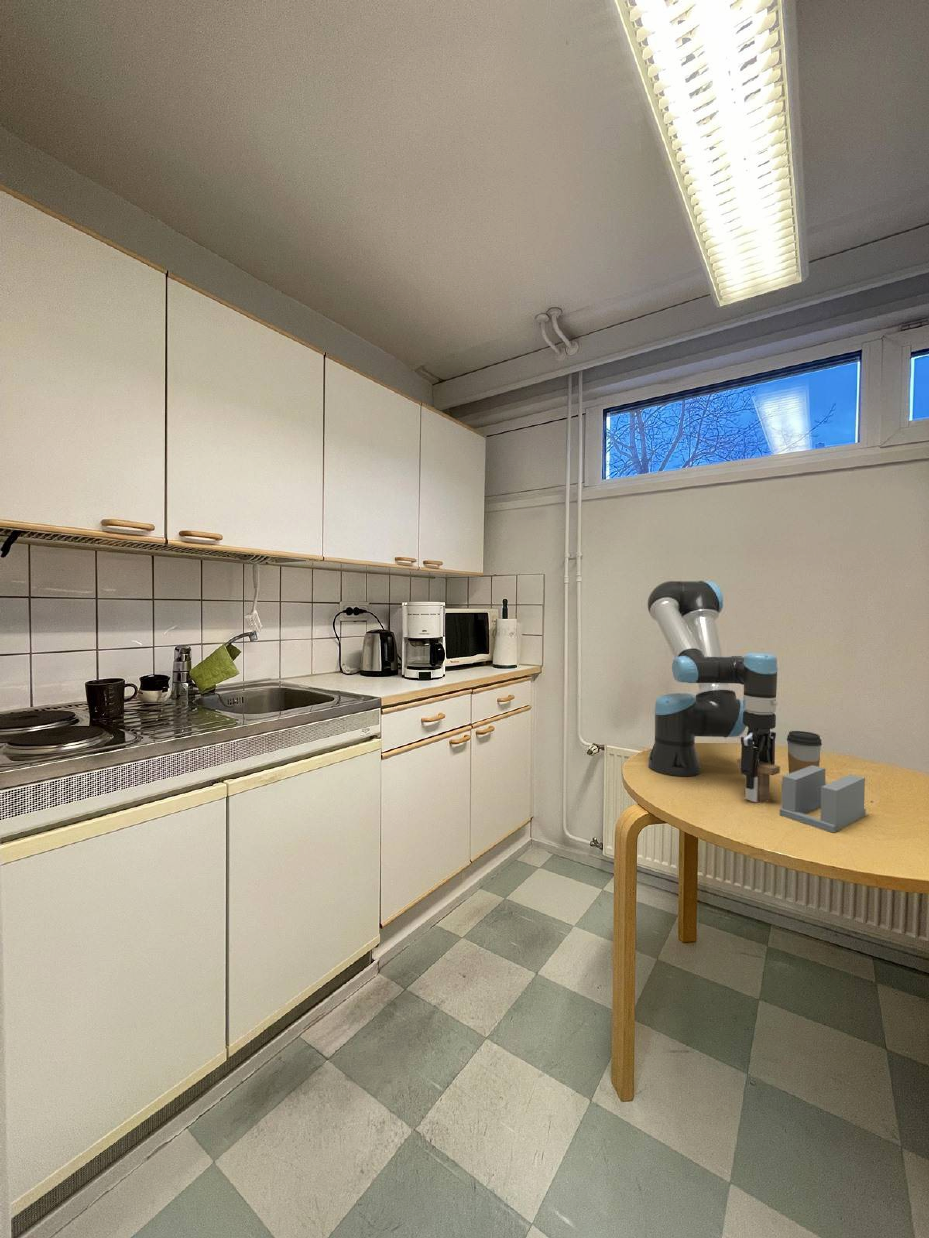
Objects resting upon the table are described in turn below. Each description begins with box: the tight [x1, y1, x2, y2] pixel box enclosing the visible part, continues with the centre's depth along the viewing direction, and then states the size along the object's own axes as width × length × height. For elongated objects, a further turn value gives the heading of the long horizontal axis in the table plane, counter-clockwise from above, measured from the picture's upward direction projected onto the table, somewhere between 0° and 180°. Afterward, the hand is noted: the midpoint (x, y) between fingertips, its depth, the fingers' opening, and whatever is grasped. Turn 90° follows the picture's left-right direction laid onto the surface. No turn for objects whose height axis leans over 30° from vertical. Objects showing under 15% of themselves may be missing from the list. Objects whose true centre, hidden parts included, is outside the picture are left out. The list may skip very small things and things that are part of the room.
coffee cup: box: [786, 730, 823, 774], centre depth 142 cm, size 8×8×15 cm
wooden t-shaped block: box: [736, 757, 781, 804], centre depth 132 cm, size 9×4×10 cm, turn 33°
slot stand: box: [779, 765, 867, 834], centre depth 122 cm, size 11×18×10 cm, turn 123°
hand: (757, 797), depth 132 cm, fingers open, 5 cm apart
